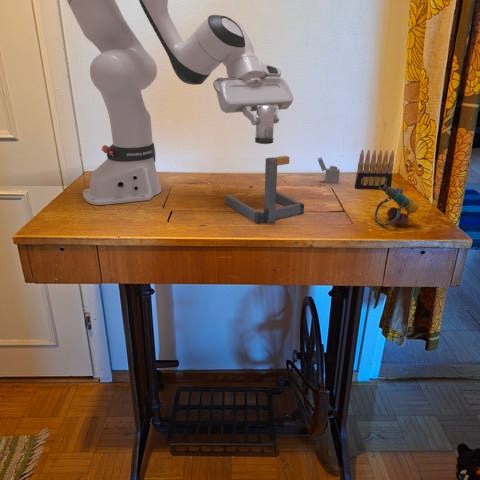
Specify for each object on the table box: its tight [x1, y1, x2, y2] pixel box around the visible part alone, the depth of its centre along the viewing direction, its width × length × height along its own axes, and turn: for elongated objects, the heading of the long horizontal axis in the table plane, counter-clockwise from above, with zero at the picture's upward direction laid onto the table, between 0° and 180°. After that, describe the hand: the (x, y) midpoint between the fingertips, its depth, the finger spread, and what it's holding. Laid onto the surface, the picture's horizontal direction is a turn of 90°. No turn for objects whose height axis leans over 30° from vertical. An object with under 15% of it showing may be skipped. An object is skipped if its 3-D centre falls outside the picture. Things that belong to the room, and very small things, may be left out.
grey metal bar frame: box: [225, 155, 305, 225], centre depth 114 cm, size 14×18×16 cm
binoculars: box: [374, 184, 420, 227], centre depth 108 cm, size 9×9×10 cm
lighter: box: [317, 156, 341, 184], centre depth 139 cm, size 7×2×8 cm, turn 84°
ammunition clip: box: [354, 149, 395, 191], centre depth 133 cm, size 11×2×12 cm, turn 86°
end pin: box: [254, 104, 275, 145], centre depth 110 cm, size 5×5×9 cm
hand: (266, 122), depth 109 cm, fingers closed on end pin, 4 cm apart
